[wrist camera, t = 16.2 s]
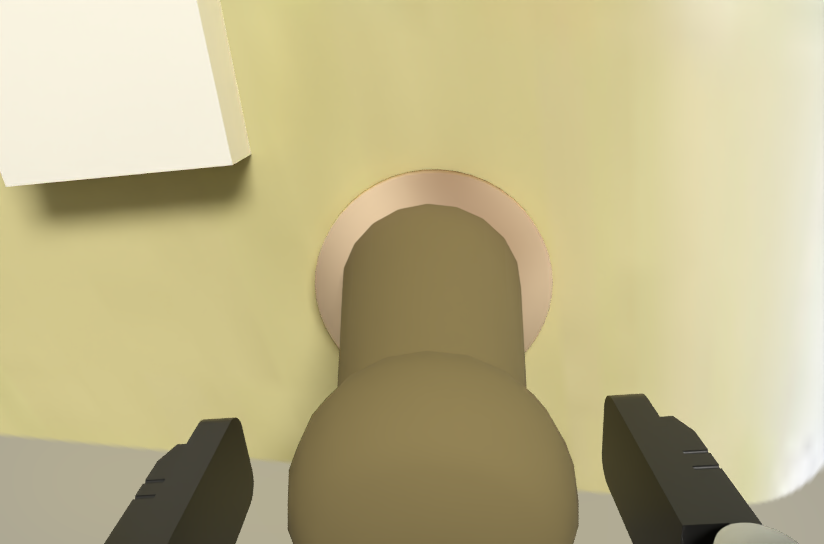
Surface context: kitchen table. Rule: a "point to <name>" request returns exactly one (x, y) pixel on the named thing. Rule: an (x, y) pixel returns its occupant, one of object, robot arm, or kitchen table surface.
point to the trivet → (447, 192)
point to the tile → (115, 89)
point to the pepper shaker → (432, 400)
